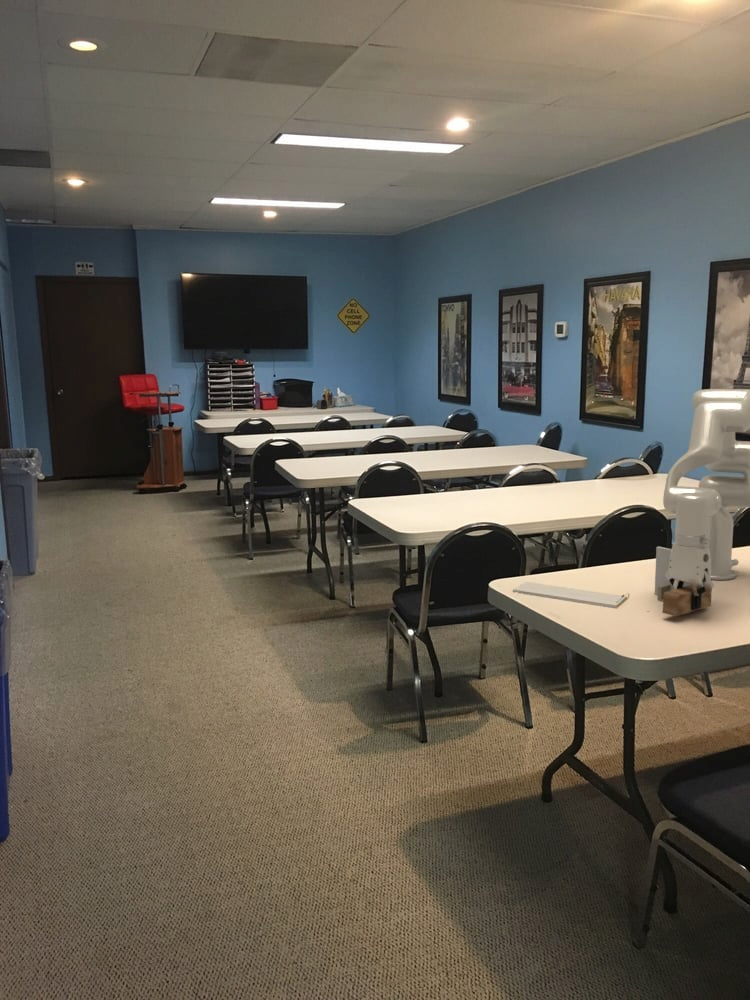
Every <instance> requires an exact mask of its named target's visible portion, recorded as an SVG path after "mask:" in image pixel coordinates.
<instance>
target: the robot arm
mask: <svg viewBox="0 0 750 1000" xmlns="http://www.w3.org/2000/svg"><path fill="white" fill-rule="evenodd" d="M691 402H692V408H693V409H694V413H693V420H692V427H691V434H690V440H689V444H688V445H689V446H688V450H687V452H685V454H683V455H682V456H680V457H679V458H678V460H677V461H676V462H674V464H673V465H672V467H670V469H669V471H668V473H667V476H666V479H665V480H666V481H665V484H664V485H665V486H664V490H663V491H664V492H663V496H662V497H663V500H662V503H663V507H664V510H665V511H666V512H668V513H670V514H675V529H674V530H675V532H674V533H675V535H674V542H673V543H672V546H671V549H672V550H671V554H670V562H669V569H668V570H667V572H666V573H665V576H666V577H667V579H668V580H670V583H671V584H672V586H673V589H678V588H682V587H683V585H684V582H686V583H690V584H692V587H693V593H694V595H692V596H691V609H692V610H696V609H699V608H700V607H701V598H702V594H704V592H706V591H707V590H709V589H711V588H712V589H713V588H714V587H715V586H714V583H713V581H725V580H726V581H727V580H728V581H729V580H732V579H735V578H736V576H737V572H736V571H735V570H733V569H732V568H733V567H734V566H737V565H739V563H740V562H739V560H738V559H737V558H736V559H732V556H733V555H732V553H733V540H734V539H733V537H734V519H733V516H732V515H731V512H730V511H729V510H728V509H727V508H726V507H731V508H732V507H733V508H745V509H749V508H750V441H748V440H747V441H746V440H745V441H743V440H736V433H745V432H747V431H748V430H750V389H749V388H748V389H746V388H736V389H735V388H734V389H733V388H730V389H728V388H708V389H707V388H706V389H701V390H697V391H696V392H694V393H693V395H692V401H691ZM703 466H705V468H706V469H707V470H708V471H710V472H715V473H733V474H742V475H731V474H708V475H706V476H703V477H702V478H701V479H700V480H699V482H698V487H697V486H696V487H695V486H683V485H682V486H681V485H680V486H679V485H678V484H679V483H680V482H679V481H680V480H681V478H682V477H683V476H684V475H686V474H687V473H688V472H691V471H692V470H693V471H694V470H696V469H698V468H700V467H703ZM712 580H713V581H712ZM703 582H705V586H703ZM699 610H700V609H699ZM696 611H697V610H696Z"/></svg>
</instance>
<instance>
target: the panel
mask: <svg viewBox="0 0 750 1000" xmlns="http://www.w3.org/2000/svg"><path fill="white" fill-rule="evenodd" d="M671 550H672V548H667V547H662V546H656V548H655V551H656V552H655V553H656V554H655V574H654V575H655V577H654V595H657V601H660V602H663V597H664V592H667V591H671V590H674V589H673V586H672V584H671V583H670V580H668V579H667V577H666V576H665V573H666V572H667V570H668V569H669V562H670V554H671ZM703 584H705V582H703ZM689 585H692V584H690V583H686V582H684V585H683V587H685V586H689Z"/></svg>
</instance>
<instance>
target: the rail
mask: <svg viewBox="0 0 750 1000" xmlns="http://www.w3.org/2000/svg"><path fill="white" fill-rule="evenodd" d="M703 586H705V584H703ZM712 592H713V588H711V589H709V590H707V591H706V592H704V594H702V598H701V607H700V608H699V609H696V610H692V609H691V596H692V595H694V593H693V587H692V585H689V586H685V587H682V588H678V589H674V590H671V591H667V592H664V597H663V601H662V613H663V614H667V615H669V616H672V617H679V616H682V615H685V614H689V613H691V612H695V611H699V610H702V609H704V608H708V607H711V604H712Z"/></svg>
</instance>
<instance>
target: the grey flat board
mask: <svg viewBox="0 0 750 1000" xmlns="http://www.w3.org/2000/svg"><path fill="white" fill-rule="evenodd" d="M515 592H518V593H517V594H521V593H523V594H522V595H528V594H529V595H528V596H534V595H535V597H541V598H548V599H554V600H561V601H567V602H573V603H580V604H587V605H593V606H600V607H605V608H611V609H617V608H619V607H620V606H621V605H623V604H624V602H626V601H627V600H628V599H629V598H630V594H628V595H625V594H623V595H620V594H619V595H618V594H613V593H606V592H599V591H592V590H586V589H585V590H584V589H579V588H571V587H565V586H557V585H550V584H543V583H538V582H537V583H536V582H530V581H524V582H522V583H521V584H520V585H518V586H516V587H515V588H513V589H512V593H515Z"/></svg>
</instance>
